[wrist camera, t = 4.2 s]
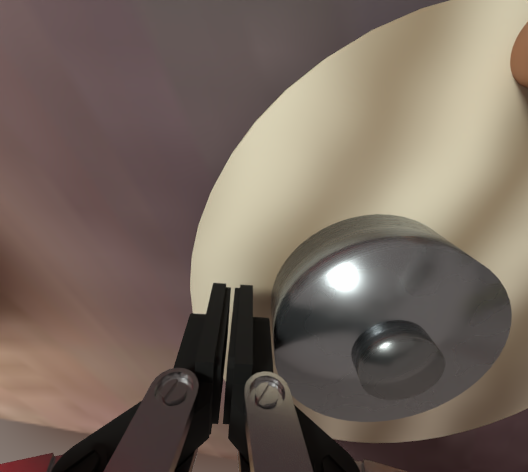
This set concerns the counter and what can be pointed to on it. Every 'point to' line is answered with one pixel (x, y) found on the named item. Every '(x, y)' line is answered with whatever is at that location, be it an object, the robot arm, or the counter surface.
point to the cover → (384, 319)
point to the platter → (391, 179)
